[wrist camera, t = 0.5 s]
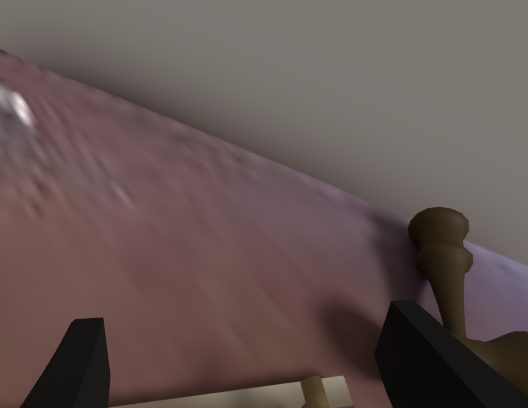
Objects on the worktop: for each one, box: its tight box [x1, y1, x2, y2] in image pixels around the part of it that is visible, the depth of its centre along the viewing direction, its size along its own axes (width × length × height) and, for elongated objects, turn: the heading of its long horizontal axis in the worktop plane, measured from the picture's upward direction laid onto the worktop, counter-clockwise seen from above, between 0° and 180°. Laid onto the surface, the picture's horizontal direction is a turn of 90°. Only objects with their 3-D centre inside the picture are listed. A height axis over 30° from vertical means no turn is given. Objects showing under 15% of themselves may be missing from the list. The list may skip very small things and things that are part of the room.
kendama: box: [408, 207, 528, 396], centre depth 35 cm, size 6×10×20 cm
